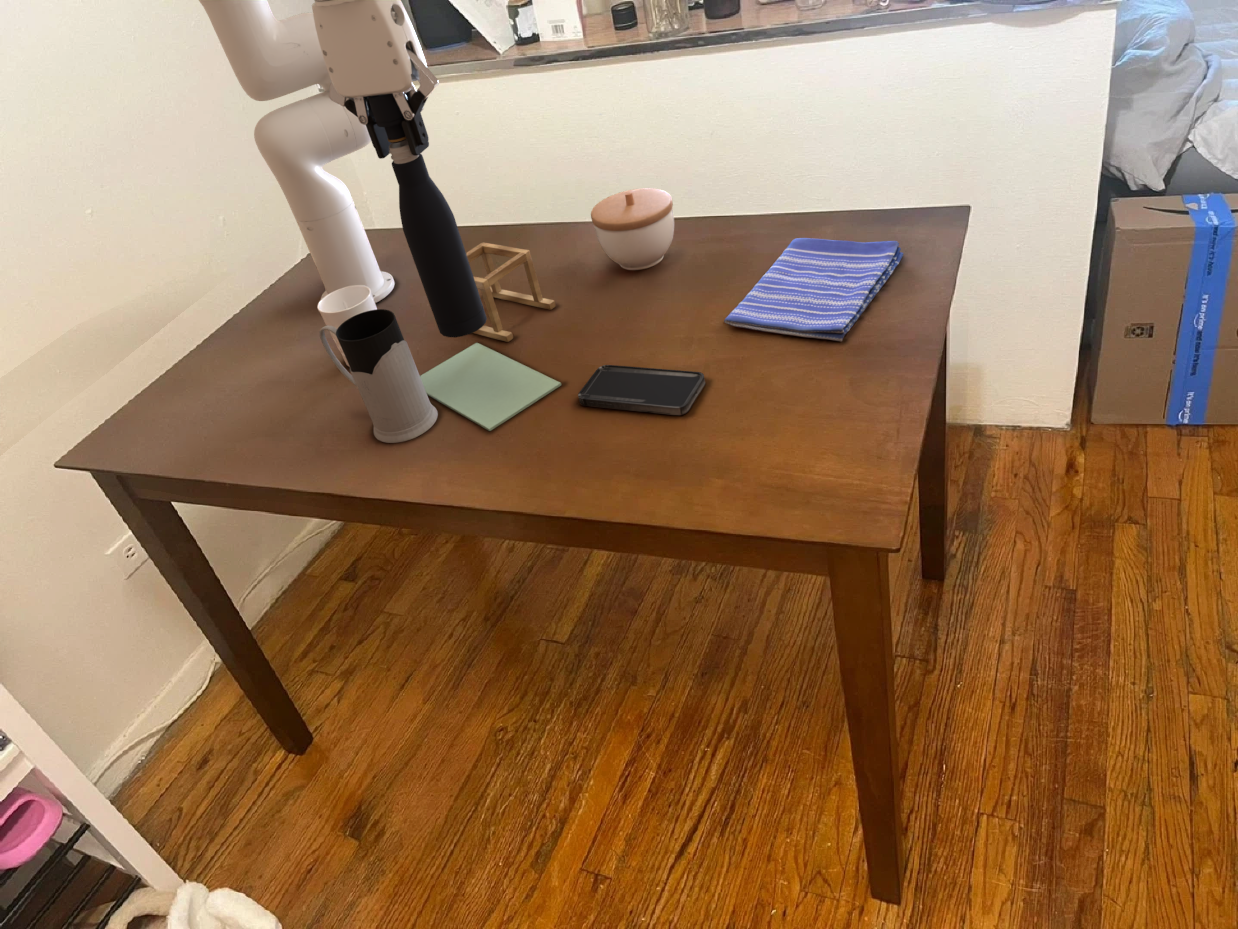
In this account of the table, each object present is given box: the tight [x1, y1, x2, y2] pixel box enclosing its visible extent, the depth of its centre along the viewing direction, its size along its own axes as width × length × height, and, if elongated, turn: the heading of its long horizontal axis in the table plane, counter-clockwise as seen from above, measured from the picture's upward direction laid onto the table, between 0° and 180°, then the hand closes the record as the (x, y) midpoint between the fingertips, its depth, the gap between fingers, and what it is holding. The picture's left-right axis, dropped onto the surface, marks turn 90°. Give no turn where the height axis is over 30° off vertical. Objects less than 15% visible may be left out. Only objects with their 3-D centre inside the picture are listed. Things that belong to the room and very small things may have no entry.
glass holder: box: [318, 308, 439, 444], centre depth 123 cm, size 9×14×15 cm, turn 58°
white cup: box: [316, 285, 378, 368], centre depth 139 cm, size 8×8×10 cm
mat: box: [420, 342, 562, 432], centre depth 129 cm, size 20×12×1 cm, turn 42°
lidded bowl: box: [590, 187, 675, 271], centre depth 147 cm, size 13×13×11 cm
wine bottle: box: [368, 93, 488, 338], centre depth 115 cm, size 6×6×30 cm
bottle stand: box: [466, 241, 557, 343], centre depth 142 cm, size 14×11×9 cm
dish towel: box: [723, 237, 905, 342], centre depth 130 cm, size 17×24×3 cm
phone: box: [577, 364, 706, 416], centre depth 119 cm, size 8×1×15 cm
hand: (403, 150), depth 110 cm, fingers closed on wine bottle, 3 cm apart
